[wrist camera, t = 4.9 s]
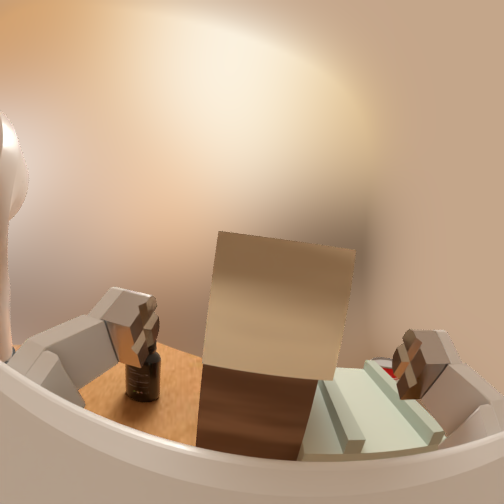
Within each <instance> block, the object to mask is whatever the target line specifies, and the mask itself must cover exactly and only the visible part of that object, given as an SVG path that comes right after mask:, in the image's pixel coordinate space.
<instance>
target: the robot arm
mask: <svg viewBox="0 0 504 504" xmlns="http://www.w3.org/2000/svg"><path fill="white" fill-rule="evenodd" d="M28 183H29V176H28V169H27V165H26V162H25V160H24V157H23V152H22V150H21V147H20V144H19V141H18V138H17V135H16V132H15V129H14V127H13V125H12V123H11V121H10V120H9V118H8V117H7V116H6V115H5V114H4V113H3V112H2V111H1V110H0V504H504V396H503V395H502V394H501V393H500V392H499V391H497V390H496V389H495V388H494V387H493V386H492V385H490V384H489V383H488V382H487V381H486V380H485V379H484V378H482V377H481V376H480V375H479V374H478V373H477V372H476V371H474V370H473V369H472V368H471V367H470V366H468V365H467V364H466V363H462V361H461V359H460V356H459V354H458V352H457V350H456V348H455V346H454V344H453V342H452V340H451V338H450V336H449V334H448V332H446V331H445V330H413V329H409V330H408V331H407V332H406V333H405V334H404V336H403V342H404V343H403V344H401V345H400V346H399V347H397V349H396V351H395V353H394V355H393V360H392V369H393V374H394V375H395V376H396V377H397V378H398V379H399V380H398V382H397V384H396V385H397V389H398V393H399V397H400V400H415V399H421V400H420V401H421V402H422V403H423V404H424V406H425V407H426V408H427V410H428V411H429V412H430V413H431V415H432V416H433V417H434V418H435V420H436V421H437V422H438V424H439V425H440V426H441V427H442V429H443V430H444V431H445V433H446V434H447V435H448V437H447V438H445V439H444V440H443V441H442V442H441V443H440V444H439V445H438V450H437V451H432V452H427V453H422V454H416V455H410V456H403V457H396V458H387V459H377V460H365V461H345V462H309V461H289V460H276V459H266V458H257V457H249V456H242V455H236V454H230V453H224V452H219V451H213V450H209V449H204V448H199V447H195V446H191V445H187V444H183V443H179V442H175V441H171V440H168V439H164V438H161V437H158V436H154V435H151V434H148V433H145V432H142V431H139V430H136V429H133V428H130V427H128V426H125V425H122V424H120V423H117V422H114V421H112V420H109V419H107V418H104V417H102V416H100V415H97V414H95V413H93V412H91V411H88V410H86V409H84V407H85V402H84V400H83V398H82V397H81V395H80V393H79V392H78V390H79V389H81V388H82V387H84V386H85V385H87V384H88V383H90V382H91V381H93V380H94V379H95V378H97V377H98V376H100V375H101V374H103V373H104V372H106V371H107V370H109V369H110V368H112V367H113V366H115V365H116V364H118V362H121V363H124V364H128V365H131V366H135V367H139V368H142V366H143V364H144V362H145V360H146V358H147V356H148V354H149V352H148V347H149V346H151V345H153V344H154V343H155V341H156V339H157V336H158V332H159V317H158V315H157V314H156V313H155V312H154V310H155V309H156V307H157V303H156V298H155V297H154V296H152V295H148V294H143V293H139V292H135V291H131V290H126V289H122V288H118V287H112V288H110V289H109V290H108V291H107V293H106V294H105V295H104V296H103V297H102V298H101V300H100V301H99V302H98V303H97V304H96V305H95V307H94V308H93V309H92V310H91V312H90V313H89V314H88V315H81V316H79V317H76V318H74V319H72V320H69V321H67V322H65V323H63V324H60V325H58V326H55V327H53V328H51V329H49V330H46V331H44V332H42V333H39V334H37V335H34V336H32V337H30V338H28V339H26V341H25V342H24V343H23V344H22V345H21V347H20V348H19V349H18V350H17V351H16V352H15V349H14V347H13V346H12V337H11V321H10V281H9V276H8V258H7V256H8V255H7V245H8V225H9V220H10V219H11V218H13V217H14V216H15V214H16V213H17V212H18V211H19V209H20V208H21V206H22V204H23V202H24V200H25V197H26V194H27V190H28Z"/></svg>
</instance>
